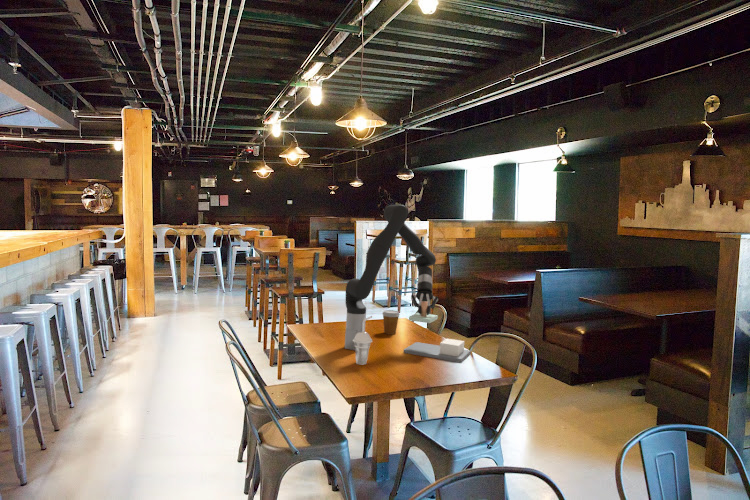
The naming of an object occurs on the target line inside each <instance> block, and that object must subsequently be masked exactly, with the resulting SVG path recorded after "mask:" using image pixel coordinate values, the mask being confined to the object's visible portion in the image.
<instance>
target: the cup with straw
mask: <svg viewBox="0 0 750 500" xmlns="http://www.w3.org/2000/svg"><path fill="white" fill-rule="evenodd" d="M372 318H373V316H372V315H371V316H369V317H366V319H364V320H363V327H362V331H361V332H358V333H357V334H356V336H355V338H353V342H354V345H355V350H354V353H355V364H356V365H362V366H363V365H367V361H368V358H369V350H370V346H371V343H373V339H372V338H371V336H370V334H369V332H367V331H365V332H364V322H365V323H366V321H368V320H370V319H372ZM365 320H366V321H365Z"/></svg>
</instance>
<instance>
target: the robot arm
mask: <svg viewBox="0 0 750 500" xmlns="http://www.w3.org/2000/svg"><path fill="white" fill-rule="evenodd" d="M383 210H384V211H383V217H384V219H385V221H387V224H386V226H385V228H383V230H382V231H381V232H379V234H378V235H376V237H375V238H374V239H373V240H372V242H371V244H369V245H370V246H369V248H368V250H367V251H366V256H365V268H364V271H363V273H362V275H361V276H360V278H352V279H350V280H349V281H348V282H347V284H346V285H345V286H346V287H345V308H346V318H345V319H346V321H345V322H346V323H345V335H344V349H346V350H352V351H355V345H354V342H353V338H355V336H356V334H357V333H358V332H361V331H362V327H363V320H364V319H366V318H367V307H366V305H365V304H364V303H363V300H365V299H367V298H368V297H369V295H370V293H371V291H372V289H373V286H374V283H375V281H376V278H377V276H378V274H379V272H380V269H381V267H382V265H383V264H384V261H385V260H386V258H387V256H388V253H389V251H390V249H391V247H392V245H393V243H394V242H395V239H396V238H397V235H398V234H399V236H400V237H401V238H402V240H403V241H404V242H405V243H406V246H408V248H409V250H410V251H411V253H412V254H413V255H416V256H417V257H416V258H415V265H416V268H417V272H418V275H417V284H416V286H417V287H416V288H417V289H416V294H415V295H414V294H411V295H410V299H411V301H412V304H413V306H414V308H417V313H420V315H421V301H427V302H428V305H427V315H428V314H431V309H434V308H435V306H436V304H437V302H438V301H439V296H434V294H433V270H432V268H431V267H432V266H434V265H435V264H436V262H437V258H436V255H435V253H434V252H432V251H431V250H430V249H429V248H428V247H426V245H424V244H423V242H422V240H421V239H420V237H419V236H418V235H417V233H415V232H414V231H413V230H412V229H411V228H410V227H409V226H408V225H407V224H406V223H405V222H406V220H407V219H408V215H409V212H408V211H409V210H408V208H407V206H405V205H404V204H389V205H387V206H386V207H385V208H384V209H383ZM430 266H431V267H430ZM417 300H418V301H419V302H417ZM431 300H432V302H431ZM430 302H431V303H430ZM366 321H367V320H365V322H364V332H366Z"/></svg>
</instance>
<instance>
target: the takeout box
mask: <svg viewBox="0 0 750 500" xmlns="http://www.w3.org/2000/svg"><path fill="white" fill-rule="evenodd" d="M439 346H440V354H446V355H452V356H459V355H460V354H461V353H462V352H464V350H465V340H460V339H454V338H445V339H444V340H442V341H441V342H440V343H439Z"/></svg>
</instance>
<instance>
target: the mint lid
mask: <svg viewBox="0 0 750 500" xmlns="http://www.w3.org/2000/svg"><path fill="white" fill-rule="evenodd" d="M427 305H428V302H427V301H421V315H420V313H418V312H416V313H413V314H411V315H410V316H409V317H408V318H409V319H408V321H413V322H419V323H425V324H431V323H433V322H435V321H436V320H438V317H439V315H437V314H431V313H430V314H428V315H427Z"/></svg>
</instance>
